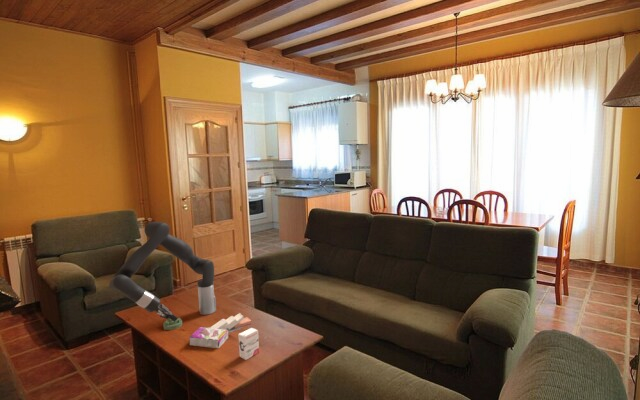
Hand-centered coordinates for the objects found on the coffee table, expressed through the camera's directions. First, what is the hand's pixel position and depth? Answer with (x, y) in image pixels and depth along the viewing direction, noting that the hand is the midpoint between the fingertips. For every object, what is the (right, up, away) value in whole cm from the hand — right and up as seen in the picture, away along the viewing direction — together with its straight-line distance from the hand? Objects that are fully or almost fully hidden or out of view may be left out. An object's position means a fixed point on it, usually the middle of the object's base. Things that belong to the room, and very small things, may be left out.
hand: (176, 319), depth 187 cm
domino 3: (+22, -9, +16) cm, 29 cm away
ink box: (+40, -14, -11) cm, 43 cm away
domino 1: (+14, -10, +10) cm, 20 cm away
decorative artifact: (-10, -11, +21) cm, 26 cm away
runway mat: (+19, -11, +14) cm, 26 cm away
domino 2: (+18, -10, +13) cm, 25 cm away
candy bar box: (+8, -10, +3) cm, 13 cm away
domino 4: (+25, -9, +18) cm, 32 cm away
